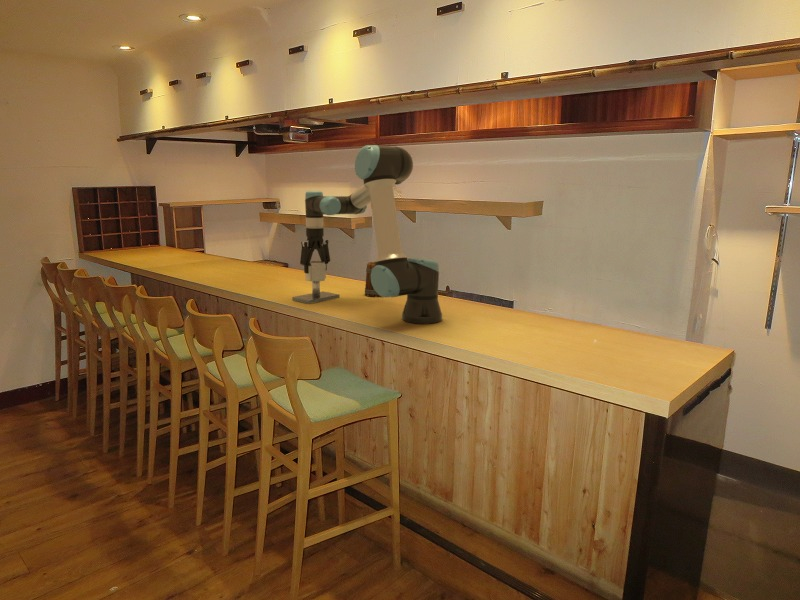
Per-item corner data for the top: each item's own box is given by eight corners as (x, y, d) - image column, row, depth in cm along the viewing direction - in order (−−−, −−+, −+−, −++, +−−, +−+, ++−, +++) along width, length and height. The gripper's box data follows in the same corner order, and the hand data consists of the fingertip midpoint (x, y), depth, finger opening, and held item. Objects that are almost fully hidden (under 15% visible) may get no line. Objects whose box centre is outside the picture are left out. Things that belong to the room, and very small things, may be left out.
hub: (328, 279, 235) (328, 261, 234) (315, 282, 229) (314, 263, 228) (316, 277, 240) (316, 260, 239) (303, 280, 234) (302, 261, 233)
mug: (361, 296, 244) (361, 263, 241) (369, 292, 254) (369, 260, 251) (393, 298, 239) (393, 265, 236) (400, 294, 249) (401, 262, 246)
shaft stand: (339, 297, 240) (339, 275, 238) (309, 304, 226) (308, 280, 224) (322, 294, 247) (322, 273, 245) (292, 300, 233) (291, 277, 231)
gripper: (326, 225, 240) (327, 275, 245) (290, 228, 224) (291, 281, 229) (338, 226, 236) (338, 277, 240) (301, 229, 220) (303, 283, 225)
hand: (315, 279), depth 235 cm, fingers closed on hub, 8 cm apart
